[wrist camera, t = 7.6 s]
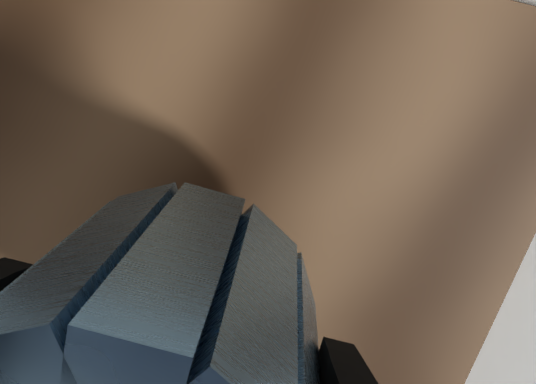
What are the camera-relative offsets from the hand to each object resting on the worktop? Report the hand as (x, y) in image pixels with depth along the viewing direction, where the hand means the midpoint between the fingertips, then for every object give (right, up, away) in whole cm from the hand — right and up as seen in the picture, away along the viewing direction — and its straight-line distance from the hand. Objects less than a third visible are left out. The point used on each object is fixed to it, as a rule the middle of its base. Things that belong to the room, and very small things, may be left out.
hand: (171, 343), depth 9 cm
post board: (0, +1, +4) cm, 5 cm away
